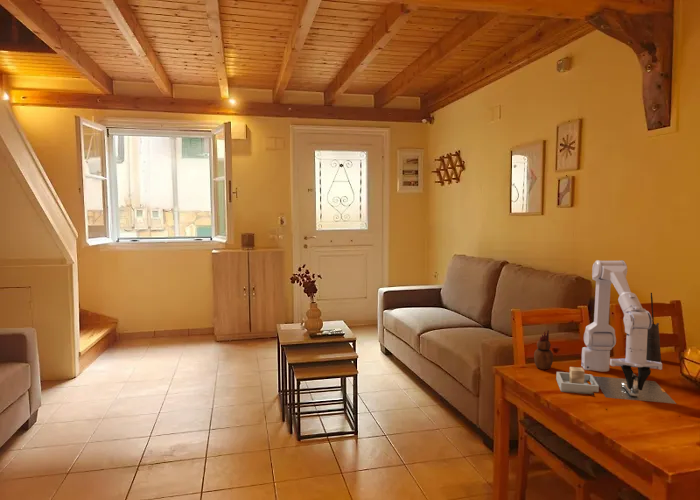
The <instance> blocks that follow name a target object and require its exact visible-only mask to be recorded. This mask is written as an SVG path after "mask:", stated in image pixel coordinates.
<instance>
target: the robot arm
mask: <svg viewBox="0 0 700 500" xmlns="http://www.w3.org/2000/svg"><path fill="white" fill-rule="evenodd" d="M591 271H592V272H591V276H592V279H591V280H593V281H595V294H594V295H595V296H594V311H593V312H594V313H593V322H591V323H589V324H588V325H586V326H585V330H584V333H583V342H584V345H585V346H584V347H582V348H581V364H580V365H581V366H580V367H581V368H583V370H584V371H596V372H604V373H605V372H609V371H610V366H611V367H621V370H622V372H623V374H624V377H625V378H624V379H626V382H627V387H628V389H632V374H633V373H634V370H633V369H632V368H637V376H638V377H639V390H642V388H643V385H644V383H645V381H646V380H647V379H648V378H649V376H650V375H651V372H652V371H651V369H655V370H660V371H661V370H663V363H662V361H660V362H655V361H648V360H646V354H647V332H648V330H647V329H650V328H651V326H652V314H651V313H650V312H649V310H646V308H643V306H642V303H641V302H640V299H639V298H638V296H637V293H634V292H632V291H631V288H630V285H629V283H628V279H627V276H628V275H627V274H628V265H627V263H626V262H625V261H624V260H599V259H596V260H595V261H594V262H593V264H592V269H591ZM612 285H613V286H614V289H615V290H616V292H617V294H618V295H619V296H618V299H617V301H618V304H619V306H620V309H621V310H622V313H623V318H622V319H623V320H622V321H623V325H624V333H626V336H625V337H626V339H625V358H611V357H610V356H611V355H610V354H611V350H613V348H614V347H615V345H616V343H617V338H616V329H615V328H614V327H613V326H612V325H610V324H609V322H610V304H611V302H610V301H611V287H612Z"/></svg>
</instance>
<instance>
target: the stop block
mask: <svg viewBox="0 0 700 500" xmlns="http://www.w3.org/2000/svg"><path fill="white" fill-rule="evenodd" d="M585 371H586V370H584V368H583V367H579V366H578V367H576V366H569V373H570V377H569V383H576V384H584V374H586V372H585Z"/></svg>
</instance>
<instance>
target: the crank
mask: <svg viewBox="0 0 700 500" xmlns="http://www.w3.org/2000/svg"><path fill="white" fill-rule="evenodd" d="M621 386H622V387H624V388H625V389H626V390H627V392H628V393H629V394H630V395H631V396H639V377H638V375H636V373H634V372H633V374H632V389H628V387H627V382H621Z"/></svg>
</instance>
